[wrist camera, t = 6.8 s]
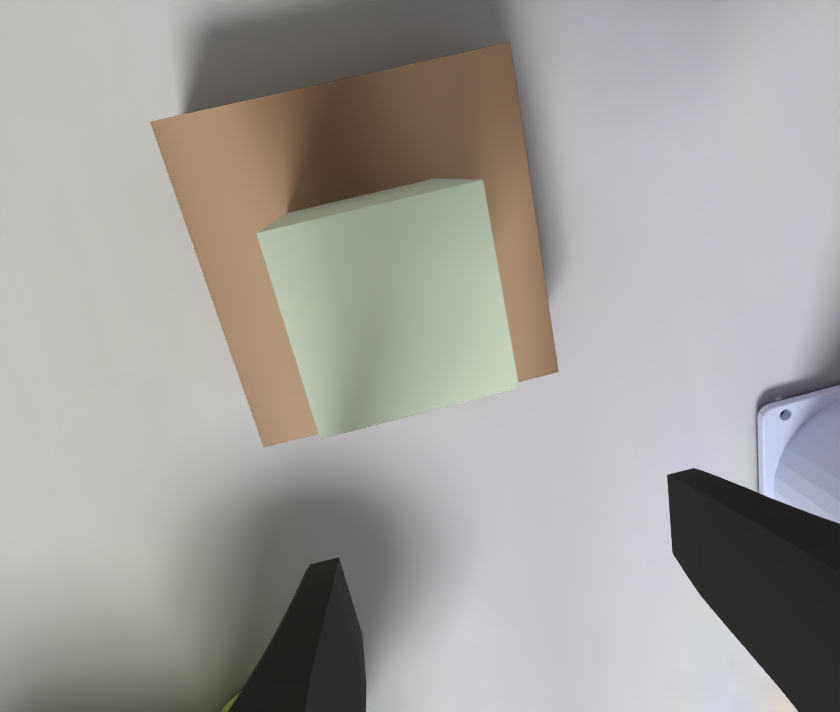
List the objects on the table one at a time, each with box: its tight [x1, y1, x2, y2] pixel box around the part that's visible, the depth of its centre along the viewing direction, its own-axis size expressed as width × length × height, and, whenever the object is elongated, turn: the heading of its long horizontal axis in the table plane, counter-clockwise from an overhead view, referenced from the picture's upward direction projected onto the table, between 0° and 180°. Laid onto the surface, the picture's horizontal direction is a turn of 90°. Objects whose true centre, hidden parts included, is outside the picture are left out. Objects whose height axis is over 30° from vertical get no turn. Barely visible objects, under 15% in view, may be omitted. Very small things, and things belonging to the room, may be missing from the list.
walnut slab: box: [150, 42, 558, 447], centre depth 18 cm, size 10×10×3 cm
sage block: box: [256, 178, 519, 439], centre depth 14 cm, size 4×4×6 cm
